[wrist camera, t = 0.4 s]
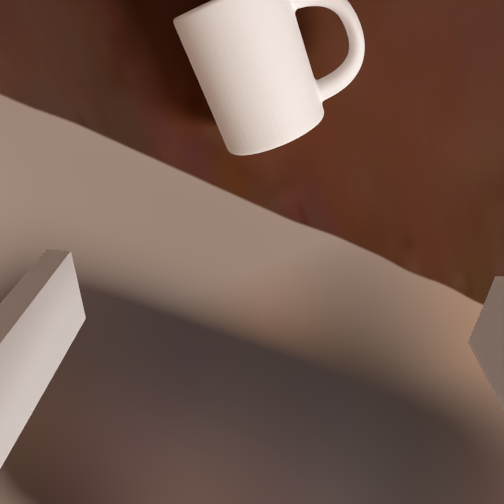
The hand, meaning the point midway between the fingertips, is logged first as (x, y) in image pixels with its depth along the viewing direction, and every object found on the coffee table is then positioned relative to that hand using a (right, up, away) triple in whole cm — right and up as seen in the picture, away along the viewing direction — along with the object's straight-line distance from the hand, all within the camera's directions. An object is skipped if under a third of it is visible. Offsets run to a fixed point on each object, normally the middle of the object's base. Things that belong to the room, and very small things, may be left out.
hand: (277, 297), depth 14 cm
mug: (+1, +18, +21) cm, 27 cm away
